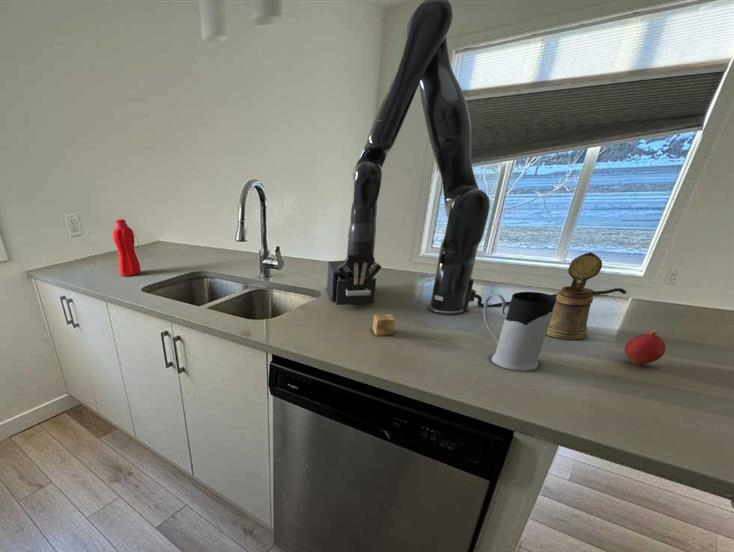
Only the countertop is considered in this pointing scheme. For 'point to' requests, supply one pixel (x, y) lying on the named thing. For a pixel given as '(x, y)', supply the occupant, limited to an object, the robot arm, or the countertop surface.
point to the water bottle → (126, 249)
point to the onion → (645, 348)
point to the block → (383, 324)
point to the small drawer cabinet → (332, 274)
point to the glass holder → (522, 329)
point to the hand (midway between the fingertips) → (356, 295)
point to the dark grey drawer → (354, 292)
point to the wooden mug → (575, 300)
